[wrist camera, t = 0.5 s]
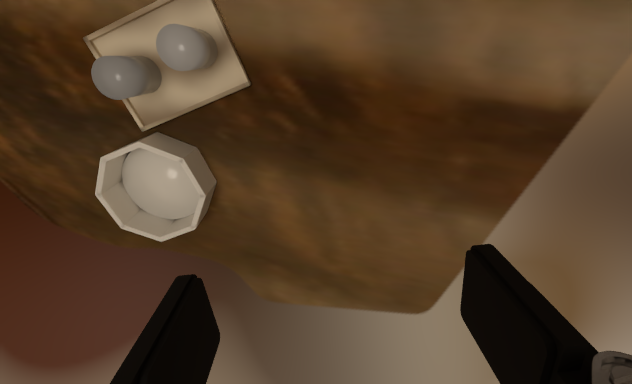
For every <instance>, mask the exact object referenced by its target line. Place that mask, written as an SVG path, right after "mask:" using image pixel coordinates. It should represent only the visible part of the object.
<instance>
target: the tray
mask: <svg viewBox="0 0 632 384" xmlns="http://www.w3.org/2000/svg"><path fill="white" fill-rule="evenodd" d="M168 24H180V25H184V26H188V27H192V28H197V29H201V30H204V31H206V32H207V33H209V34H210V35H211V36H212V37H213V39H214V40H215V42H216V45H217V50H218V53H217V58H216V61H215V62H214V64H213V65H211V66H210V67H208V68H205V69H197V70H188V71H177V70H174V69H172V68H170V67H168V66H167V65H166V64H165V63H164V62H163V61H162V60H161V58H160V56H159V54H158V52H157V48H156V38H157V35H158V33H159V31H160V30H161V29H162V28H163V27H164V26H166V25H168ZM83 39H84V41H85V42H86V44H87V45H88V47H89V49H90V50H91V52H92V53H93V55H94V56H95V58H96V60H97V59H98V58H100V57H102V56H144V57H147V58H149V59H151V60H152V61H153V62H154V63H155V64H156V65H157V66H158V68H159V70H160V72H161V76H162V81H161V85H160V87H159V88H158V89H157V90H156V91H155V92H152V93H148V94H144V95H140V96H135V97H131V98H126V99H122V100H123V102H124V104H125V105H126V107H127V108H128V110H129V111H130V113H131V115H132V116H133V118H134V119H135V121H136V122H137V124H138V126H139V127H140V129H141V130H142V132H143V131H145V130H148V129H150V128H152V127H154V126H157V125H159V124H161V123H164V122H166V121H168V120H171V119H173V118H175V117H178V116H180V115H182V114H185V113H187V112H189V111H192V110H194V109H196V108H199V107H201V106H203V105H205V104H208V103H210V102H212V101H215V100H217V99H219V98H222V97H224V96H226V95H229V94H231V93H233V92H236V91H238V90H240V89H243V88H245V87H247V86H250V85H251V82H250V80H249V78H248V76H247V74H246V71H245V69H244V67H243V65H242V63H241V60H240V58H239V56H238V54H237V52H236V49H235V47H234V45H233V43H232V41H231V39H230V36H229V34H228V32H227V30H226V28H225V25H224V23H223V21H222V19H221V17H220V14H219V12H218V10H217V8H216V6H215V3H214V1H213V0H158V1H156V2H154V3H152V4H150V5H148V6H146V7H144V8H142V9H140V10H138V11H136V12H134V13H132V14H130V15H128V16H126V17H124V18H122V19H120V20H118V21H116V22H114V23H112V24H110V25H108V26H106V27H104V28H102V29H100V30H98V31H96V32H94V33H92V34H90V35H88V36H86V37H84V38H83Z"/></svg>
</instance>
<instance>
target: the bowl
mask: <svg viewBox="0 0 632 384" xmlns="http://www.w3.org/2000/svg"><path fill="white" fill-rule="evenodd" d="M130 151H131V152H130ZM128 152H130V153H129V154H128ZM127 155H128V156H127ZM216 183H217V181H216V179H215V178H214V176H213V174H212V172H211V171H210V169H209V167H208V165H207V164H206V162H205V160H204V158H203V157H202V155H201V153H200V151H199V150H198V148H197V147H194V146H192V145H189V144H187V143H184V142H182V141H179V140H177V139H174V138H172V137H169V136H166V135H164V134H161V133H159V132H156V133H154V134H152V135H149V136H147V137H145V138H142V139H140V140H138V141H135V142H133V143H131V144H128V145H126V146H124V147H122V148H119V149H117V150H115V151H113V152H111V153H109V154H107V155H105V156H103V157H101V158H100V165H99V171H98V178H97V185H96V192H95V195H96V197H97V198H98V199H99V200H100V202H101V203H102V204H103V206H104V207H105V208H106V210H107V211H108V212H109V213H110V215H111V216H112V217H113V219H114V220H115V221H116V223H117V224H118V225H119V226H120V228H121V229H124V230H127V231H130V232H133V233H136V234H139V235H142V236H145V237H148V238H151V239H155V240H158V241H161V242H162V241H165V240H167V239H170V238H173V237H175V236H178V235H181V234H184V233H186V232H189V231H192V230H195V229H196V227H197V226H198V225H199V223H200V222H201V220H202V219H203V217H204V216H205V214H206V213H207V210H208V207H209V204H210V201H211V198H212V195H213V192H214V189H215V186H216Z"/></svg>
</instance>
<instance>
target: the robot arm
mask: <svg viewBox="0 0 632 384" xmlns="http://www.w3.org/2000/svg"><path fill="white" fill-rule="evenodd" d="M461 316H462V318H463V320H464V322H465V324H466V326H467V327H468V329H469V331H470V332H471V334H472V336H473V338H474V339H475V341H476V343H477V344H478V346H479V348H480V350H481V351H482V353H483V355H484V356H485V358H486V360H487V361H488V363H489V365H490V367H491V368H492V370H493V372H494V373H495V375H496V377H497V379H498V380H499V382H500V384H632V355H629V354H625V353H621V352H616V351H604V352H598V351H597V350H596V349H595V348H594V347H593V346H592V345H591V344H590V343H589V342H588V341H587V340H586V339H585V338H584V337H583V336H582V335H581V334H580V333H579V332H578V331H577V330H576V329H575V328H574V327H573V326H572V325H571V324H570V323H569V322H568V321H567V320H566V319H565V318H564V317H563V316H562V315H561V314H560V313H559V312H558V310H557V309H556V308H555V307H554V306H553V305H552V304H550V302H549V301H548V300H547V299H546V298H545V297H544V296H543V295H542V294H541V293H540V292H539V291H538V290H537V289H536V288H535V287H534V286H533V285H532V284H530V283H529V282H528V281H527V280H526V279H525V278H524V277H523V276H522V275H521V274H520V273H519V272H518V271H517V270H516V269H515V268H514V267H513V266H512V265H511V263H510V262H509V261H508V260H507V259H506V258H505V257H503V255H502V254H501V253H500V252H499V251H498V250H497V249H496V248H495V247H494V246H493V245H491V244H484V245H474V246H472V247H471V250H468V251H467V252H466V258H465V268H464V278H463V289H462V298H461ZM219 342H220V332H219V329H218V326H217V323H216V320H215V317H214V314H213V311H212V308H211V305H210V302H209V299H208V296H207V293H206V290H205V287H204V284H203V281H202V279H201V278H197V276H196V275H193V274H192V275H182V276H178V277H176V279H175V280H174V282H173V283H172V285H171V287H170V288H169V290H168V292H167V293H166V295H165V296H164V298H163V299H162V301H161V303H160V304H159V306H158V308H157V309H156V311H155V312H154V314H153V315H152V317H151V319H150V320H149V322H148V323H147V325H146V326H145V328H144V330H143V331H142V333H141V334H140V336H139V338H138V339H137V341H136V343H135V344H134V346H133V347H132V349H131V350H130V352H129V354H128V355H127V357H126V358H125V360H124V362H123V363H122V365H121V367H120V368H119V370H118V371H117V373H116V375H115V376H114V378H113V379H112V381H111V383H110V384H206V382H207V379H208V376H209V372H210V370H211V367H212V364H213V360H214V357H215V354H216V351H217V348H218V345H219Z"/></svg>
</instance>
